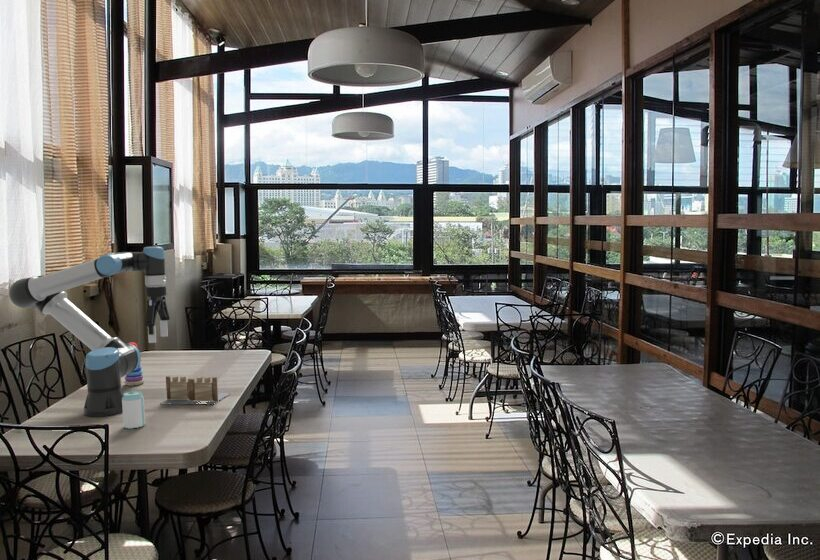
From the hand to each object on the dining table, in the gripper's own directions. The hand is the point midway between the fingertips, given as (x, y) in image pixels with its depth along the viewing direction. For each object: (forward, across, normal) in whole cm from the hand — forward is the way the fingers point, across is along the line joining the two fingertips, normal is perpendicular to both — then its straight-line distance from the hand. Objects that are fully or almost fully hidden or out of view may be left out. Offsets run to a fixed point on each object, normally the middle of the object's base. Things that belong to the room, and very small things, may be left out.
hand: (158, 339), depth 265 cm
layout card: (+25, +2, -13) cm, 28 cm away
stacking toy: (+25, +31, +22) cm, 46 cm away
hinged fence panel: (+24, 0, -6) cm, 25 cm away
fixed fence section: (+25, -2, -17) cm, 30 cm away
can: (+25, -32, -1) cm, 41 cm away
